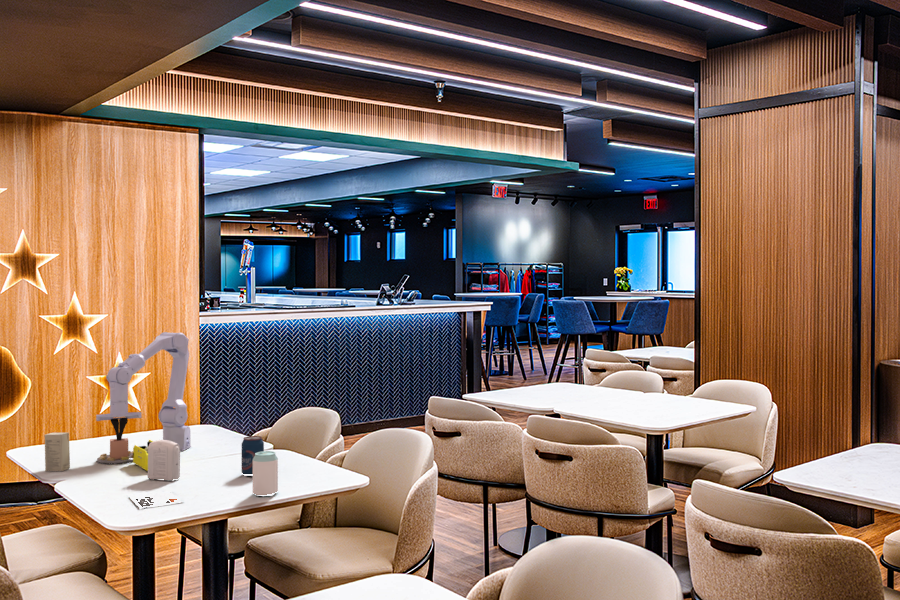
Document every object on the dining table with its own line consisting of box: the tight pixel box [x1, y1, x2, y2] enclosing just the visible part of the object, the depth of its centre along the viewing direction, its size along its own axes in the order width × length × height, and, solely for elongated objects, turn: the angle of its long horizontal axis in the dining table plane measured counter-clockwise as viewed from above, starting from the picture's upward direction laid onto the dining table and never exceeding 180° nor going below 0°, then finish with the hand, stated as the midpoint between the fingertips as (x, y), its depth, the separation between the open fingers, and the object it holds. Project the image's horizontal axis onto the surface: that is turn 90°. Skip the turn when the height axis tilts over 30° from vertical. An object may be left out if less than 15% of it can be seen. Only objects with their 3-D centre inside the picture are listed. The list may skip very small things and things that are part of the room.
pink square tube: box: [109, 437, 129, 459], centre depth 264 cm, size 6×6×6 cm
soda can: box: [241, 435, 265, 475], centre depth 240 cm, size 7×7×12 cm
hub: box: [96, 450, 133, 465], centre depth 263 cm, size 14×14×4 cm
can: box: [252, 450, 279, 496], centre depth 216 cm, size 7×7×12 cm
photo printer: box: [147, 439, 181, 481], centre depth 234 cm, size 10×4×12 cm, turn 72°
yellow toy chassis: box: [132, 439, 153, 472], centre depth 252 cm, size 16×6×8 cm, turn 38°
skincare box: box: [44, 432, 71, 472], centre depth 248 cm, size 6×4×12 cm
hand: (119, 439), depth 263 cm, fingers closed
